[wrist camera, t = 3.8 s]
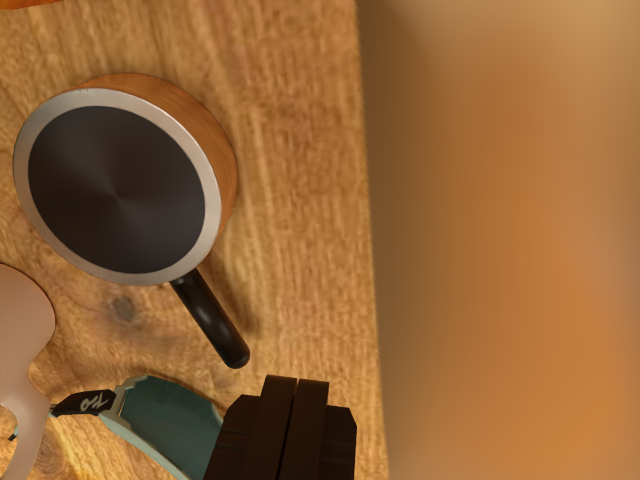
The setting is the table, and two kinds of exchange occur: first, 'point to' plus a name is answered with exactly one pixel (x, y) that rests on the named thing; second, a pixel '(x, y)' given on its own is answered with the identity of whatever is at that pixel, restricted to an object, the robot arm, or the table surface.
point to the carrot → (23, 3)
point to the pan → (133, 189)
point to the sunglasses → (154, 421)
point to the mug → (23, 363)
